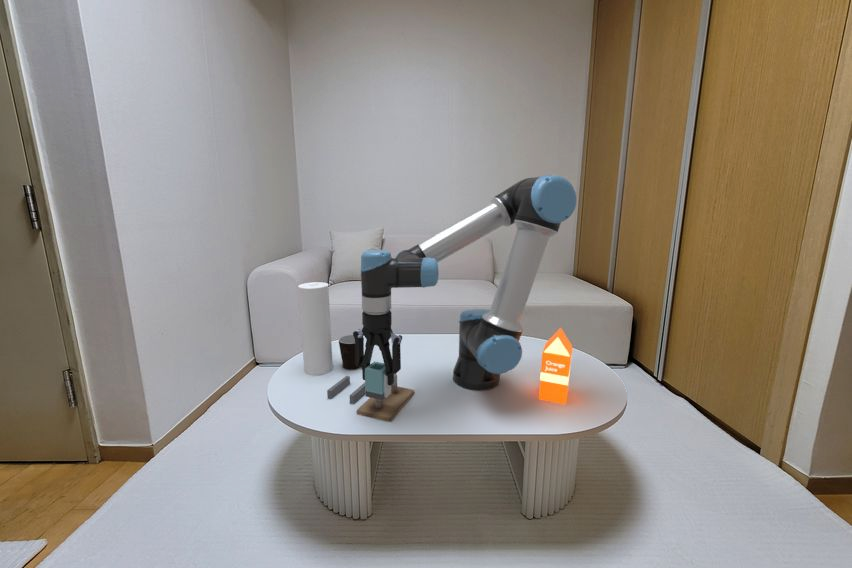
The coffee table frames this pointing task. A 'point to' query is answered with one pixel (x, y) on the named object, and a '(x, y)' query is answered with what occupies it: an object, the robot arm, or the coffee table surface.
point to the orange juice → (555, 368)
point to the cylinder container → (315, 327)
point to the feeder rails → (342, 384)
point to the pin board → (386, 403)
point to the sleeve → (375, 380)
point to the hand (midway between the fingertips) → (378, 392)
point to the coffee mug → (348, 352)
